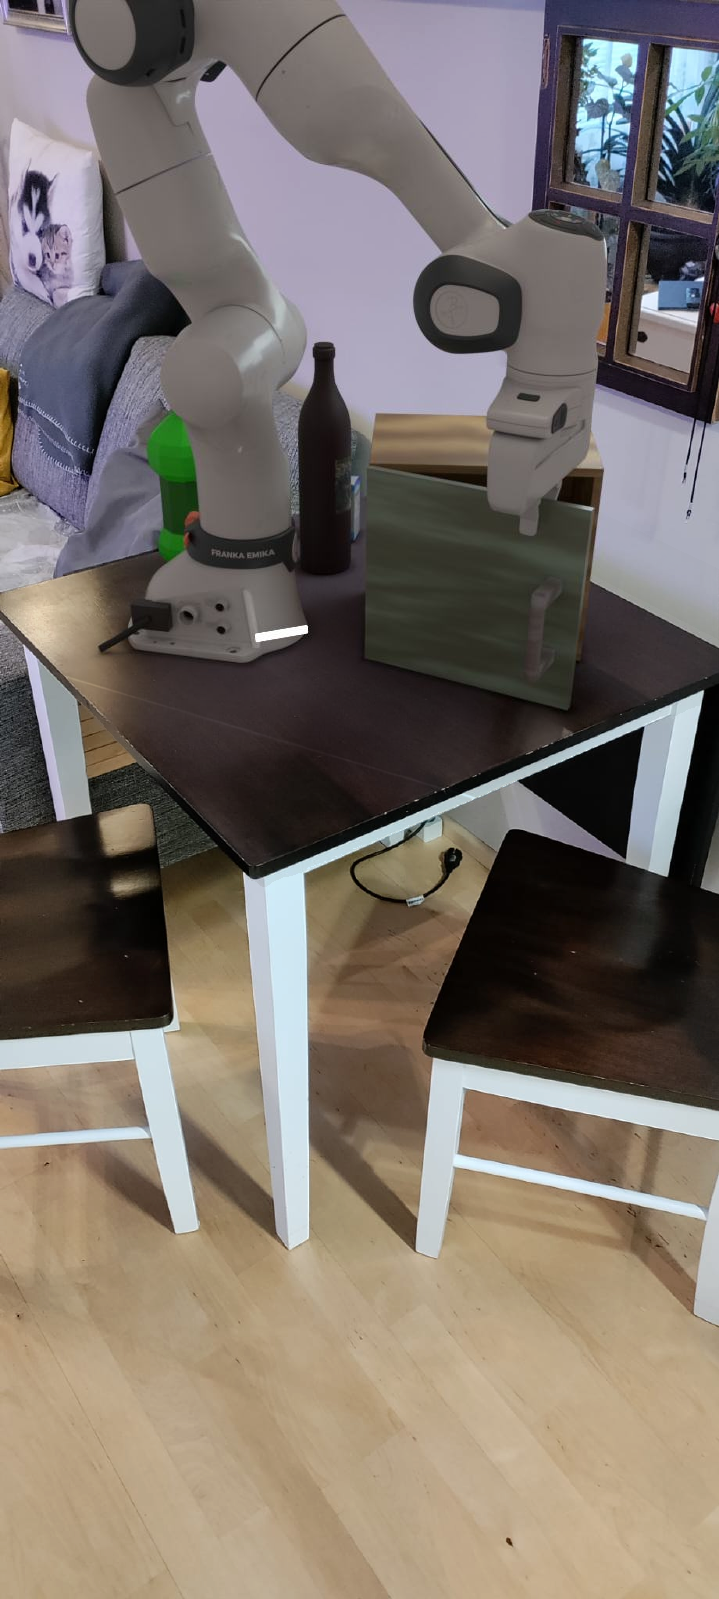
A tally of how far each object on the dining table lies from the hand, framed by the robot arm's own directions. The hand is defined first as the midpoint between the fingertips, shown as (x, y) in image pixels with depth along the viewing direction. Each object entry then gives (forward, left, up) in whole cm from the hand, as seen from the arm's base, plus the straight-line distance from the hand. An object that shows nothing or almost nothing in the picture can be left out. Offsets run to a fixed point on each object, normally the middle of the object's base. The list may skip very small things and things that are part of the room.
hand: (536, 526), depth 128 cm
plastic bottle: (-43, +34, -21) cm, 59 cm away
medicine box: (-25, +47, -21) cm, 57 cm away
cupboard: (-5, +19, -21) cm, 29 cm away
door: (-8, +1, -21) cm, 22 cm away
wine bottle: (-25, +36, -21) cm, 49 cm away
